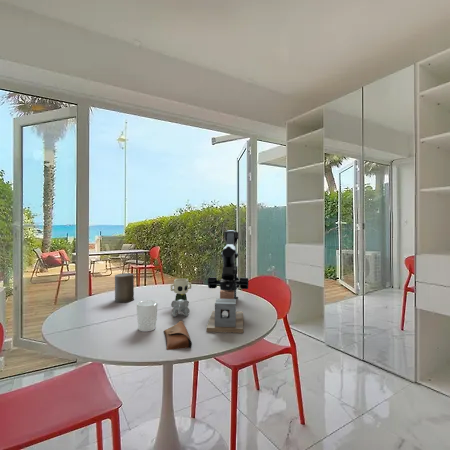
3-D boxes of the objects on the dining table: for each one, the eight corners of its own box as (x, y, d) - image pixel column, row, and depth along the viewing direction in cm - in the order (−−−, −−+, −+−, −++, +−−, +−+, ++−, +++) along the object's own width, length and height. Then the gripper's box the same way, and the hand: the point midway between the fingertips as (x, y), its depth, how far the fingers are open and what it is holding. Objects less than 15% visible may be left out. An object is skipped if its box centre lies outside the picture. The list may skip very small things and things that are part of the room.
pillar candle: (137, 299, 152) (137, 271, 152) (122, 303, 144) (122, 274, 144) (126, 297, 157) (125, 270, 157) (110, 300, 149) (110, 272, 149)
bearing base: (212, 314, 128) (212, 291, 128) (243, 314, 127) (243, 291, 127) (206, 331, 107) (206, 304, 107) (243, 332, 106) (243, 305, 106)
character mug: (172, 309, 135) (172, 282, 135) (168, 305, 141) (168, 279, 141) (193, 306, 140) (194, 280, 140) (188, 302, 146) (188, 277, 146)
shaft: (220, 312, 123) (220, 290, 123) (234, 313, 123) (234, 290, 123) (216, 326, 106) (217, 300, 106) (232, 327, 106) (232, 300, 106)
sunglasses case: (162, 330, 108) (171, 314, 109) (177, 337, 110) (186, 322, 111) (166, 350, 91) (177, 332, 92) (184, 359, 92) (195, 340, 93)
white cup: (146, 333, 104) (146, 307, 104) (132, 329, 109) (132, 303, 109) (161, 327, 111) (161, 302, 111) (147, 323, 115) (147, 299, 115)
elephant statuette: (187, 312, 132) (187, 295, 132) (195, 318, 121) (195, 300, 121) (168, 315, 128) (167, 298, 128) (174, 321, 117) (174, 303, 117)
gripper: (208, 259, 130) (204, 288, 119) (248, 260, 129) (248, 289, 118) (210, 273, 138) (207, 302, 127) (248, 274, 136) (248, 303, 125)
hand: (227, 299), depth 124 cm, fingers closed
